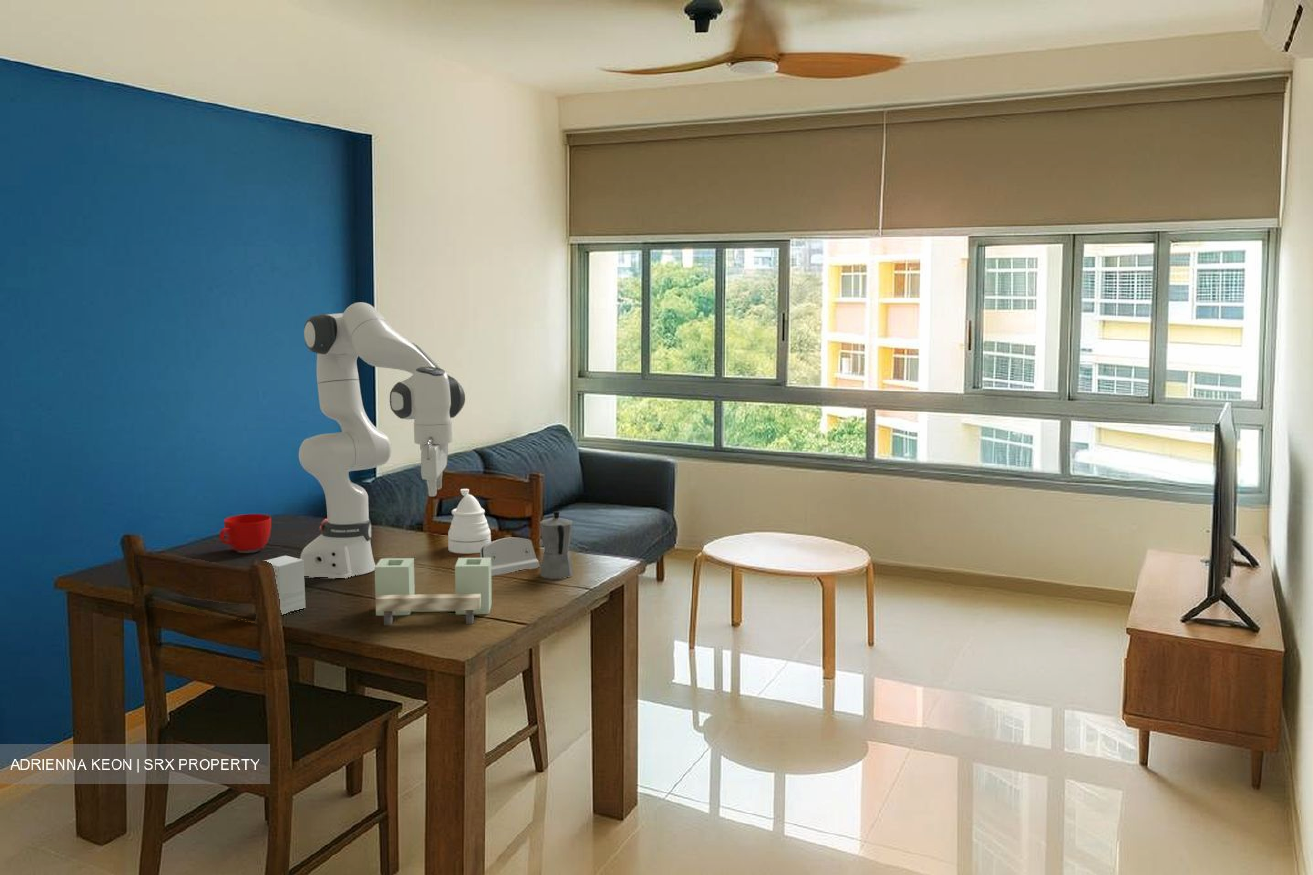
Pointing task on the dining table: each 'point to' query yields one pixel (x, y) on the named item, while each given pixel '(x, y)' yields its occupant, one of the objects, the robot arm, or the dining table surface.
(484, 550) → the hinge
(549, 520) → the coffeepot
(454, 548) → the honey pot
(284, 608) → the supplement box
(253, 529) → the ceramic cup
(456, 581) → the posts
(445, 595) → the rail
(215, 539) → the dining table surface
